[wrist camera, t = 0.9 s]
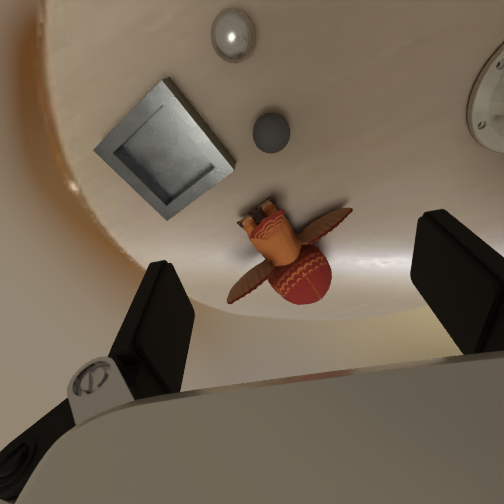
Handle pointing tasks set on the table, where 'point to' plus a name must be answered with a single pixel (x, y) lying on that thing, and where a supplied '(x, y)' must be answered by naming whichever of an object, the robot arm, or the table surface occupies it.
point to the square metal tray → (166, 151)
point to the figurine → (288, 255)
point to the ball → (271, 133)
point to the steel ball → (232, 35)
